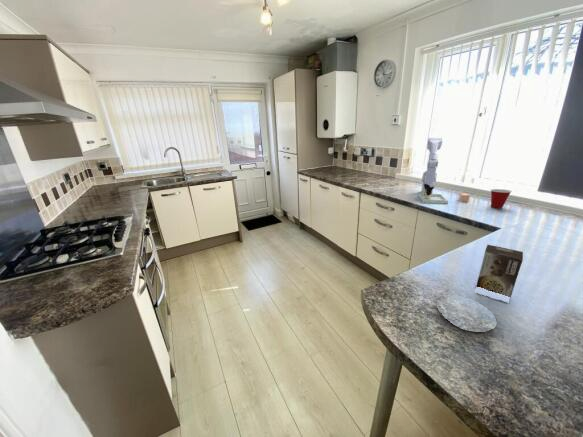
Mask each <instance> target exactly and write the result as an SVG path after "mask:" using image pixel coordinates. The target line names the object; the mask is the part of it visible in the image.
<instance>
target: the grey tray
mask: <svg viewBox="0 0 583 437" xmlns="http://www.w3.org/2000/svg"><path fill="white" fill-rule="evenodd" d="M417 197H418V198H419V200H420V202H422V203H423V204H440V205H441V204H442V205H447V204H449V199H447V197H445V196H444V195H443V194H442V193H432V197H425V196H424V193H420V192H419V193H418V194H417Z"/></svg>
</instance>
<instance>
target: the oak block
mask: <svg viewBox="0 0 583 437" xmlns="http://www.w3.org/2000/svg"><path fill="white" fill-rule="evenodd" d="M433 192H434V191H433V190H432V192H431V194H430V195H427V194H426V189H425V191H424V196H425V197H432V194H433Z"/></svg>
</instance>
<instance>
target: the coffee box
mask: <svg viewBox="0 0 583 437" xmlns="http://www.w3.org/2000/svg"><path fill="white" fill-rule="evenodd" d="M523 260H524V252H523V251H520V250H516V249H512V248H511V249H510V248H505V247H501V246H497V245H491V244H487V245H486V248H485V251H484V255H483V258H482V263H481V266H480V270H479V274H478V277H477V282H476V284H477V285H475V287H476V286H477V287H481V288H484V289H486V290H488V291H492V292H495V293H499V294H502V295H505V296H508V297H511V298H512V294H513V292H514V288H515V285H516V283H517V279H518V277H519V276H518V275H519V273H520V270H521V266H522V264H523V262H524V261H523Z"/></svg>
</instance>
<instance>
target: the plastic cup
mask: <svg viewBox="0 0 583 437" xmlns="http://www.w3.org/2000/svg"><path fill="white" fill-rule="evenodd" d="M490 192H491V193H490V194H491V197H490V198H491V199H490V202H491V204H490V207H491V208H494V209H499V210H500V209H502V208H503V207H504V205H505V204H506V202H507V200H508V198H509V196H510V195H511V193H512V190H509V189H500V188H499V189H498V188H493V189H490Z"/></svg>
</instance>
